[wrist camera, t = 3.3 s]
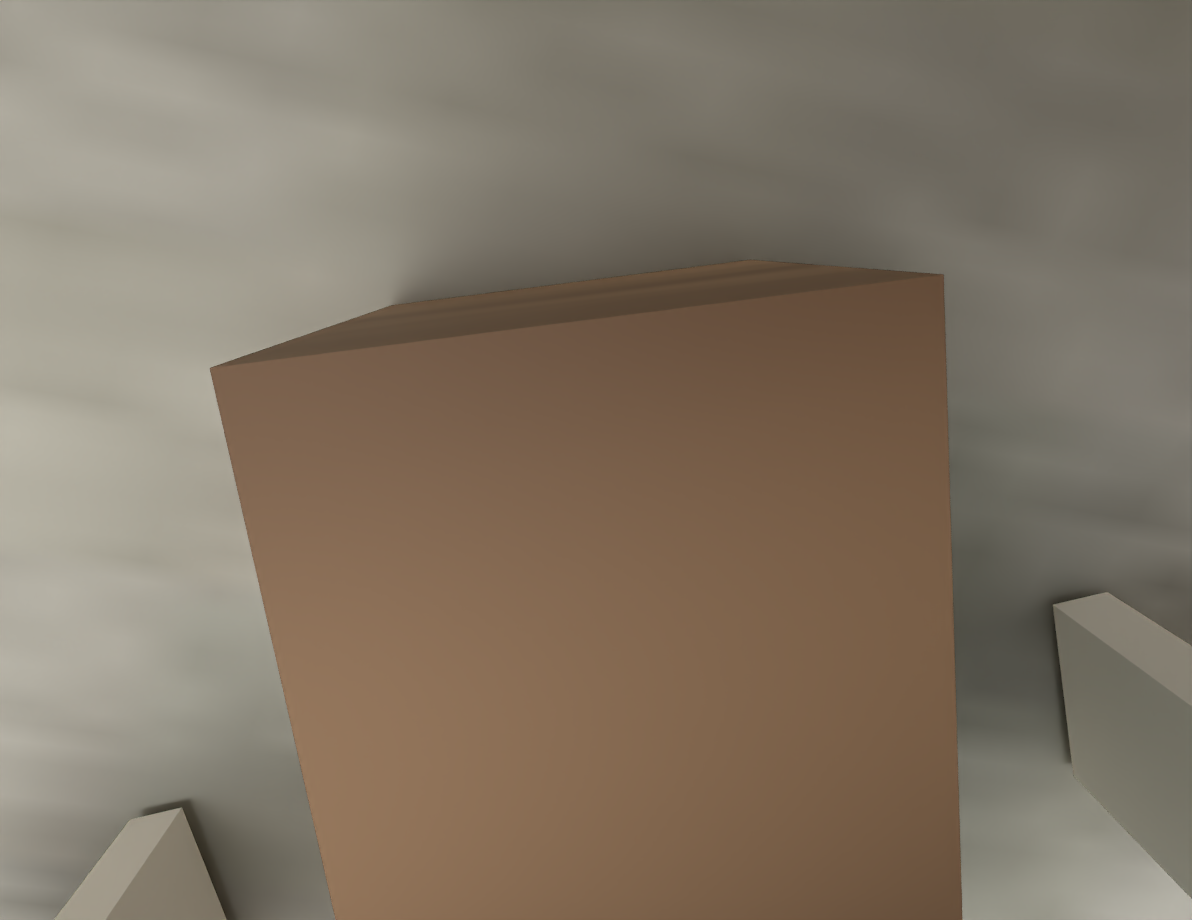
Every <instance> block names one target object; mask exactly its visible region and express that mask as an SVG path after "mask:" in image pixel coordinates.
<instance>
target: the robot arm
mask: <svg viewBox="0 0 1192 920" xmlns="http://www.w3.org/2000/svg"><path fill="white" fill-rule="evenodd" d="M1053 610H1054V618H1055V627H1056V635H1057V643H1058V652H1059V660H1060V668H1061V676H1062V685H1063V693H1064V701H1065V710H1066V718H1067V726H1068V734H1069V743H1070V751H1071V759H1072V768H1073V776H1074V777H1075V778H1076V779H1077V780H1078V781H1079V782H1080V783H1081V784H1082V785H1083V786H1084V787H1085V788H1086V789H1087V790H1088V791H1089V792H1090V794H1091V795H1092V796H1093V797H1094V798H1095V799H1096V800H1097V801H1098V802H1099V803H1100V804H1101V805H1102V806H1103V807H1104V808H1105V809H1106V810H1107V811H1108V812H1109V813H1110V814H1111V815H1112V816H1113V817H1114V818H1115V820H1116V821H1117V822H1118V823H1119V824H1120V825H1121V826H1122V827H1123V828H1124V829H1125V830H1126V831H1127V832H1128V833H1129V834H1130V835H1131V836H1132V837H1133V838H1134V839H1135V840H1136V841H1137V842H1138V843H1139V844H1140V845H1141V847H1142V848H1143V849H1144V850H1145V851H1146V852H1147V853H1148V854H1149V855H1150V856H1151V857H1152V858H1153V859H1154V860H1155V861H1156V862H1157V863H1158V864H1159V865H1160V866H1161V867H1162V868H1163V869H1164V870H1165V871H1166V873H1167V874H1168V875H1169V876H1170V877H1171V878H1172V879H1173V880H1174V881H1175V882H1176V883H1177V884H1178V885H1179V886H1180V887H1181V888H1182V889H1183V890H1184V891H1185V892H1186V893H1187V894H1188V895H1189V896H1190V897H1191V899H1192V646H1191V645H1190V644H1188V643H1187V642H1185V641H1184V640H1182V639H1180V638H1179V637H1177V636H1176V635H1174V634H1173V633H1171V632H1169V631H1168V630H1166V629H1165V628H1163V627H1162V626H1160V625H1158V624H1157V623H1155V622H1154V621H1152V620H1151V619H1149V618H1147V617H1146V616H1144V615H1143V614H1141V613H1140V612H1138V611H1136V610H1135V609H1133V608H1132V607H1130V606H1129V605H1127V604H1125V603H1124V602H1122V601H1121V600H1119V599H1117V598H1116V597H1114V596H1113V595H1111V594H1110V593H1108V592H1105V593H1101V594H1096V595H1092V596H1088V597H1083V598H1079V599H1075V600H1071V601H1066V602H1062V603H1058V604H1053ZM54 920H227V919H226V917H225V914H224V912H223V909H222V907H221V904H220V902H219V899H218V897H217V894H216V892H215V889H214V887H213V884H212V882H211V879H210V877H209V874H208V872H207V869H206V867H205V864H204V862H203V859H202V857H201V854H200V852H199V849H198V846H197V844H196V841H195V839H194V836H193V834H192V831H191V829H190V826H189V824H188V821H187V819H186V816H185V814H184V811H183V809H182V807H181V808H177V809H173V810H169V811H164V812H160V813H156V814H151V815H147V816H143V817H139V818H134V819H130V820H129V821H128V823H127V824H126V825H125V827H124V828H123V829H122V831H121V832H120V833H119V834H118V836H117V837H116V838H115V840H114V841H113V842H112V844H111V845H110V846H109V848H108V849H107V850H106V852H105V853H104V854H103V856H102V857H101V858H100V860H99V861H98V862H97V864H96V865H95V866H94V867H93V869H92V870H91V871H90V873H89V874H88V875H87V877H86V878H85V879H84V881H83V882H82V883H81V885H80V886H79V887H78V889H77V890H76V891H75V893H74V894H73V895H72V897H71V898H70V899H69V901H68V902H67V903H66V904H65V906H64V907H63V908H62V910H61V911H60V912H59V914H58V915H57V916H56V918H55V919H54Z"/></svg>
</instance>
